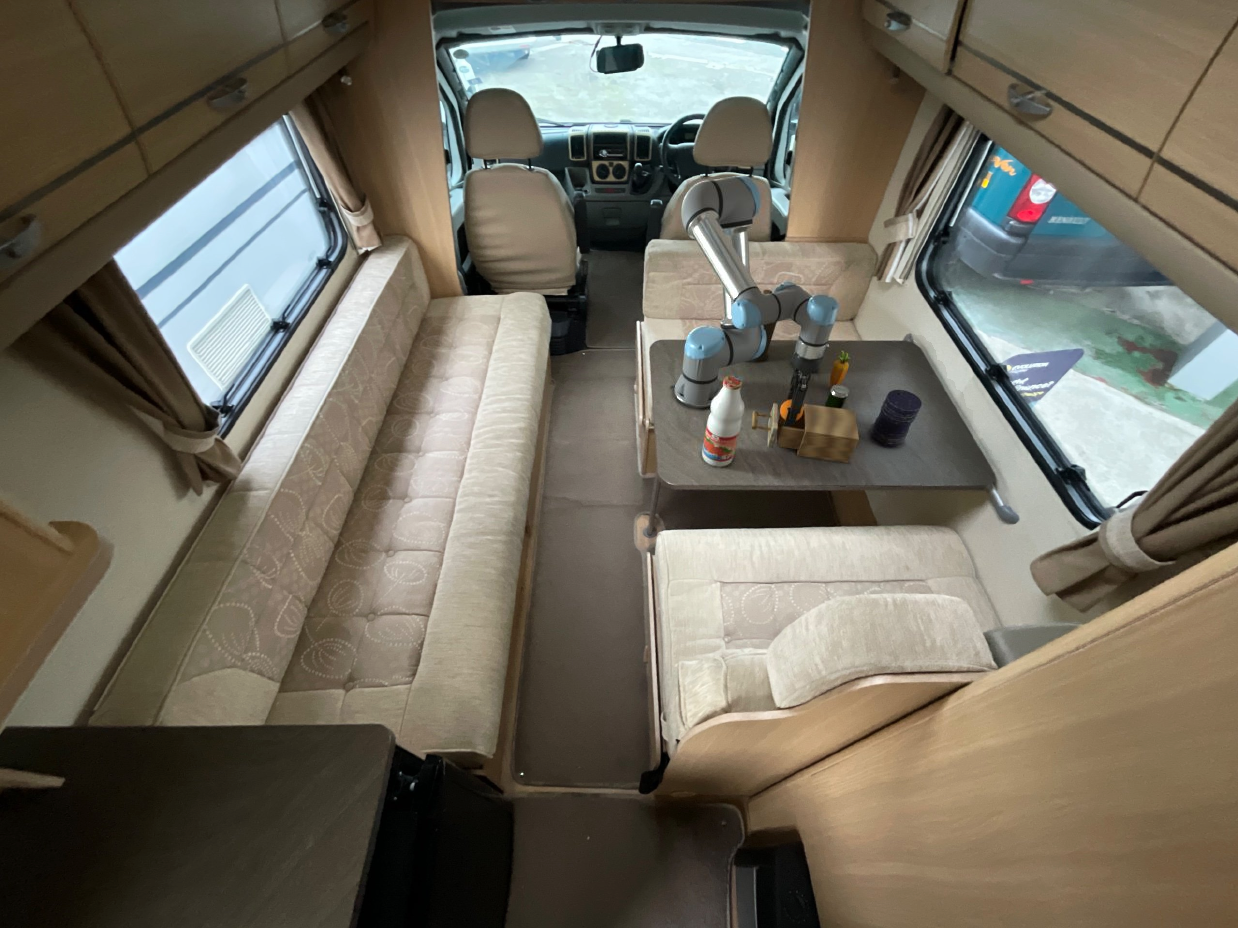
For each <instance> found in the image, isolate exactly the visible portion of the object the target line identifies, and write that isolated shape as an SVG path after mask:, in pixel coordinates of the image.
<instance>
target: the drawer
mask: <svg viewBox="0 0 1238 928" xmlns="http://www.w3.org/2000/svg"><path fill="white" fill-rule="evenodd" d="M778 405H779V404H778V403H773V405H772V408H771V411H770V414H766V413H761V412H758V411H757V410H753V411H752V412H751V413H752V414H751V415H752V416H751V429H752V430H753V431H756V430H757V429H758V430H765V431H767V448H769V449H772V448H773V446H774V443H775V439H776V447H781V448H788V449H794V450H797V449H799V448H800V445H801V442H802V439H803V436H804V433H805V420H804V410H803V414H802V416H801V417H800V418H799V419H798V420H796V421H795V424H794V427H788V426H784V423H785V419H784V418H783V417H782V416H781V413H780V412H779V411H778V409H779V406H778ZM778 412H779V413H778ZM778 414H779V415H778ZM758 417H764V418H769V419H768V422H767V426H761V425H758Z"/></svg>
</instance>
